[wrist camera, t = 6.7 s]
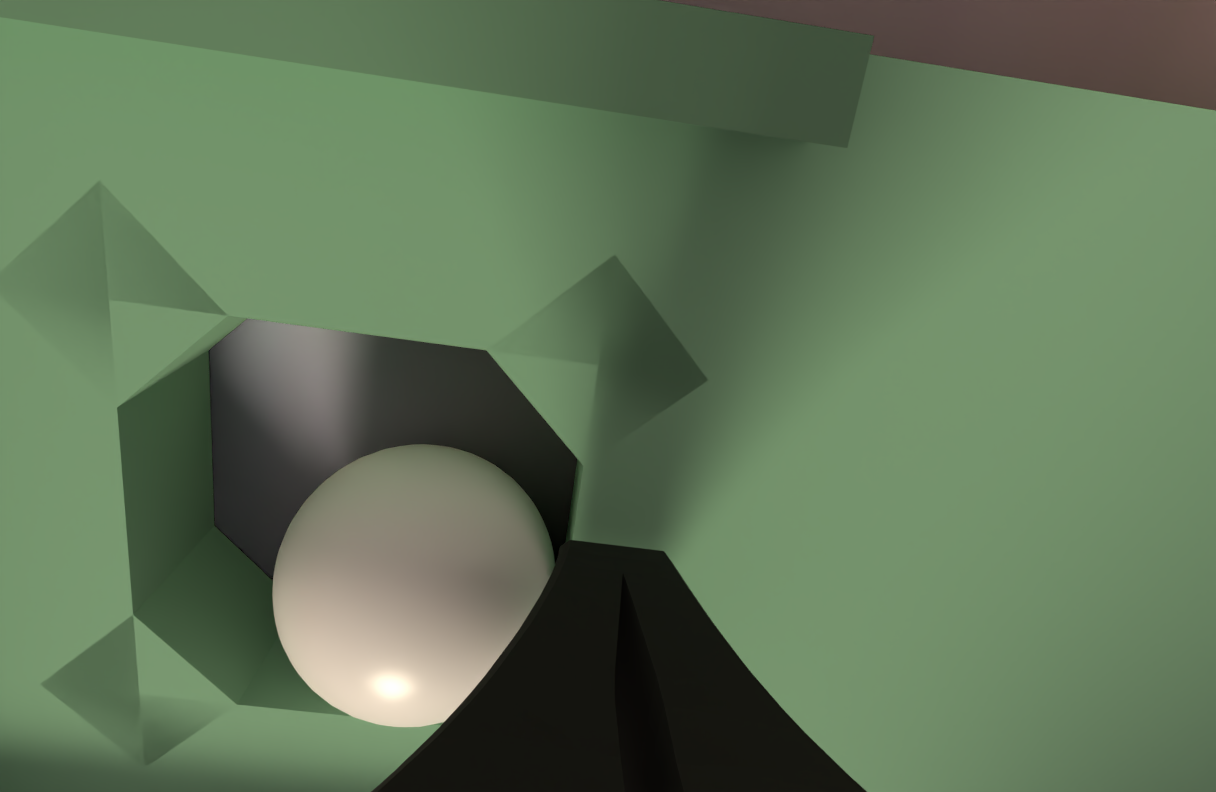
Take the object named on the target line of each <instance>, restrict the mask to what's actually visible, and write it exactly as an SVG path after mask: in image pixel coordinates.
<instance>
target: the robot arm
mask: <svg viewBox="0 0 1216 792" xmlns="http://www.w3.org/2000/svg"><path fill="white" fill-rule="evenodd" d="M371 792H867V791H866V790H865V789H864V788H862V787H861V786H860V785H859V784H858V783H857V782H856V781H855V780H854V779H852V778H851V777H850V776H849V775H848V774H847V773H846V772H845V771H844V770H843V769H842V768H841V767H840V766H839V765H838V764H837V763H836V762H835V761H834V760H833V759H832V758H831V757H830V756H829V755H828V754H827V753H826V752H825V751H824V750H823V749H821V748H820V747H819V746H818V745H817V744H816V743H815V742H814V741H813V740H812V739H811V738H810V737H809V736H808V735H807V734H806V733H805V732H804V731H803V730H802V729H801V728H800V727H799V726H798V724H797V723H796V722H795V721H794V720H793V719H792V718H791V717H790V716H789V715H788V714H787V713H786V712H785V711H784V710H783V708H782V707H781V706H780V705H779V704H778V703H777V702H776V700H775V699H774V698H773V697H772V696H771V695H770V693H769V692H768V691H767V690H766V689H765V688H764V687H763V685H762V684H761V683H760V682H759V681H758V680H757V679H756V677H755V676H754V675H753V674H752V673H751V671H750V670H749V669H748V668H747V666H746V665H745V664H744V663H743V661H742V660H741V659H740V658H739V656H738V655H737V654H736V652H735V651H734V650H733V648H732V647H731V646H730V644H729V643H728V642H727V640H726V639H725V638H724V636H723V635H722V634H721V632H720V631H719V630H718V628H717V627H716V626H715V624H714V623H713V622H712V620H711V619H710V617H709V616H708V615H707V613H706V612H705V610H704V609H703V607H702V606H701V604H700V603H699V602H698V600H697V599H696V597H695V596H694V594H693V593H692V591H691V590H690V588H689V587H688V585H687V584H686V582H685V581H684V579H683V578H682V576H681V575H680V573H679V572H678V570H677V569H676V567H675V566H674V564H673V563H672V561H671V560H670V559H669V557H668V556H667V554H666V553H665V552H664V551H660V550H651V549H643V548H635V547H626V546H618V545H610V544H601V543H593V542H584V541H576V540H569V541H567V542H566V543H564V544H563V545H561V546H560V549H559V555H558V558H557V561H556V564H555V567H554V569H553V571H552V573H551V576H550V578H549V580H548V582H547V584H546V585H545V587H544V589H543V591H542V593H541V595H540V597H539V598H538V600H537V602H536V603H535V605H534V606H533V608H532V610H531V611H530V613H529V615H528V616H527V618H526V619H525V621H524V623H523V624H522V626H521V627H520V629H519V630H518V632H517V633H516V635H515V636H514V638H513V639H512V640H511V642H510V643H509V644H508V646H507V647H506V648H505V650H504V651H503V652H502V654H501V655H500V656H499V658H498V659H497V660H496V662H495V663H494V664H493V666H492V667H491V668H490V670H489V671H488V672H487V674H486V675H485V676H484V677H483V679H482V680H481V681H480V682H479V683H478V685H477V686H476V687H475V688H474V689H473V691H472V692H471V693H470V694H469V695H468V696H467V698H466V699H465V700H464V701H463V702H462V703H461V704H460V706H459V707H458V708H457V709H456V710H455V711H454V712H453V713H452V714H451V715H450V716H449V717H448V718H447V720H446V721H445V722H444V723H443V724H442V725H441V726H440V727H439V728H438V729H437V730H436V731H435V732H434V733H433V734H432V735H431V736H430V737H429V738H428V739H427V740H426V741H425V742H424V743H423V744H422V745H421V746H420V747H419V748H418V749H417V750H416V751H415V752H414V753H413V754H412V755H411V756H409V757H408V758H407V759H406V760H405V761H404V762H403V763H402V764H401V765H400V766H399V767H398V768H397V769H396V770H395V771H394V772H393V773H392V774H391V775H389V776H388V777H387V778H386V779H385V780H384V781H383V782H382V783H381V784H379V785H378V786H377V787H376V788H375V789H374V790H373V791H371Z"/></svg>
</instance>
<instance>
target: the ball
mask: <svg viewBox="0 0 1216 792" xmlns="http://www.w3.org/2000/svg"><path fill="white" fill-rule="evenodd" d="M554 567H555V559H554V552H553V548H552V543H551V540H550V537H549V533H548V531H547V528H546V526H545V524H544V521H543V519H542V517H541V515H540V513H539V511H538V510H537V508H536V506H535V504H534V503H533V502H532V500H531V499H530V497H529V496H528V495H527V494H526V492H525V491H524V490H523V489H522V488H521V487H520V486H519V485H518V484H517V483H516V481H515V480H514V479H513V478H511V477H510V476H509V475H507V474H506V473H505V472H504V471H502V470H501V469H500V468H498V467H497V466H496V465H494V464H492V463H490V462H488V461H487V460H485V459H483V458H481V457H479V456H477V455H474V454H472V453H469V452H466V451H462V450H459V449H455V448H452V447H447V446H439V445H429V444H415V445H404V446H397V447H392V448H387V449H383V450H380V451H378V452H375V453H372V454H369V455H366V456H364V457H361V458H359V459H357V460H355V461H354V462H352V463H350V464H348V465H346V466H345V467H343V468H341V469H340V470H338V471H337V472H336V473H334V474H333V475H332V476H330V477H329V478H328V479H326V480H325V481H324V482H323V483H322V484H321V485H320V486H319V487H318V488H317V489H316V490H315V491H314V492H313V493H312V494H311V495H310V496H309V497H308V498H307V500H306V501H305V502H304V503H303V505H302V506H301V508H300V509H299V511H298V512H297V514H296V515H295V517H294V518H293V520H292V521H291V523H290V525H289V527H288V529H287V531H286V534H285V536H284V538H283V541H282V543H281V546H280V548H279V552H278V555H277V559H276V563H275V569H274V576H273V592H272V597H273V610H274V618H275V623H276V628H277V632H278V635H279V638H280V641H281V643H282V646H283V648H284V650H285V652H286V654H287V656H288V658H289V660H290V662H291V664H292V665H293V667H294V668H295V670H296V671H297V673H298V674H299V675H300V676H301V678H302V679H303V680H304V681H305V682H306V684H307V685H308V686H309V687H310V688H311V689H312V690H313V691H314V692H315V693H317V694H318V695H319V696H320V697H321V698H323V699H324V700H325V701H326V702H328V703H329V704H330V705H332V706H333V707H335V708H337V709H339V710H341V711H343V712H345V713H347V714H349V715H350V716H352V717H355V718H358V719H361V720H364V721H367V722H371V723H374V724H378V725H384V726H392V727H422V726H427V725H432V724H437V723H442V722H445V721H446V720H447V718H448V717H449V716H450V715H451V714H452V713H453V712H454V711H455V710H456V709H457V708H458V707H459V706H460V704H461V703H462V702H463V701H464V700H465V699H466V698H467V696H468V695H469V694H470V693H471V692H472V691H473V689H474V688H475V687H476V686H477V685H478V683H479V682H480V681H481V680H482V679H483V677H484V676H485V675H486V674H487V672H488V671H489V670H490V668H491V667H492V666H493V664H494V663H495V662H496V660H497V659H498V658H499V656H500V655H501V654H502V652H503V651H504V650H505V648H506V647H507V646H508V644H509V643H510V642H511V640H512V639H513V638H514V636H515V635H516V633H517V632H518V630H519V629H520V627H521V626H522V624H523V623H524V621H525V619H526V618H527V616H528V615H529V613H530V611H531V610H532V608H533V606H534V605H535V603H536V602H537V600H538V598H539V597H540V595H541V593H542V591H543V589H544V587H545V585H546V584H547V582H548V580H549V578H550V576H551V573H552V571H553V569H554Z"/></svg>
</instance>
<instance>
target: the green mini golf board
mask: <svg viewBox="0 0 1216 792" xmlns="http://www.w3.org/2000/svg"><path fill="white" fill-rule="evenodd" d="M873 39H874V36H873V35H867V34H861V33H855V32H849V31H843V30H837V29H831V28H825V27H819V26H812V25H806V24H800V23H794V22H788V21H782V20H776V19H770V18H764V17H758V16H752V15H746V14H739V13H733V12H727V11H721V10H715V9H709V8H703V7H697V6H691V5H685V4H679V3H673V2H667V1H660V0H0V792H371V791H373V790H374V789H375V788H376V787H377V786H378V785H379V784H381V783H382V782H383V781H384V780H385V779H386V778H387V777H388V776H389V775H391V774H392V773H393V772H394V771H395V770H396V769H397V768H398V767H399V766H400V765H401V764H402V763H403V762H404V761H405V760H406V759H407V758H408V757H409V756H411V755H412V754H413V753H414V752H415V751H416V750H417V749H418V748H419V747H420V746H421V745H422V744H423V743H424V742H425V741H426V740H427V739H428V738H429V737H430V736H431V735H432V734H433V733H434V732H435V731H436V730H437V729H438V728H439V727H440V726H441V725H442V724H443V723H444V722H442V723H437V724H432V725H427V726H422V727H392V726H384V725H378V724H374V723H371V722H367V721H364V720H361V719H358V718H355V717H352V716H350V715H349V714H347V713H345V712H343V711H341V710H339V709H337V708H335V707H333V706H332V705H330V704H329V703H328V702H326V701H325V700H324V699H323V698H321V697H320V696H319V695H318V694H317V693H315V692H314V691H313V690H312V689H311V688H310V687H309V686H308V685H307V684H306V682H305V681H304V680H303V679H302V678H301V676H300V675H299V674H298V673H297V671H296V670H295V668H294V667H293V665H292V664H291V662H290V660H289V658H288V656H287V654H286V652H285V650H284V648H283V646H282V643H281V641H280V638H279V635H278V632H277V628H276V623H275V618H274V610H273V597H272V592H273V581H272V580H271V579H270V578H269V577H268V576H267V575H266V574H265V573H264V572H263V571H262V570H261V569H260V568H259V567H257V566H256V565H255V564H254V563H253V562H252V561H251V560H250V559H249V558H248V557H247V556H246V555H245V554H244V553H243V552H242V551H241V550H239V549H238V548H237V547H236V546H235V545H234V544H233V543H232V542H231V541H230V540H229V539H228V538H227V537H226V536H225V535H224V534H223V533H221V532H220V531H219V530H218V529H217V528H216V527H215V526H214V499H213V469H212V438H211V408H210V378H209V350H210V349H211V348H212V347H213V346H214V345H216V344H217V343H218V342H219V341H221V340H222V339H223V338H224V337H225V336H227V335H228V334H229V333H230V332H231V331H233V330H234V329H235V328H236V327H238V326H239V325H240V324H241V323H242V322H244V321H245V320H246V319H247V318H248V319H256V320H263V321H271V322H278V323H286V324H293V325H301V326H308V327H316V328H323V329H331V330H338V331H345V332H353V333H360V334H368V335H375V336H383V337H390V338H398V339H405V340H413V341H420V342H428V343H435V344H443V345H450V346H458V347H465V348H473V349H480V350H487V352H488V353H489V354H490V355H491V356H492V358H493V359H494V360H495V361H496V362H497V363H498V365H499V366H500V367H501V368H502V369H503V371H504V372H505V373H506V374H507V375H508V377H509V378H510V379H511V380H512V381H513V383H514V384H515V385H516V386H517V387H518V389H519V390H520V391H521V392H522V393H523V394H524V396H525V397H526V398H527V399H528V400H529V402H530V403H531V404H532V405H533V406H534V408H535V409H536V410H537V411H538V412H539V414H540V415H541V416H542V417H543V418H544V419H545V421H546V422H547V423H548V424H549V425H550V427H551V428H552V429H553V430H554V431H555V433H556V434H557V435H558V436H559V437H560V439H561V440H562V441H563V442H564V443H565V445H566V446H567V447H568V448H569V449H570V450H571V452H572V453H573V454H574V455H575V456H576V458H577V465H576V472H575V479H574V486H573V492H572V499H571V506H570V513H569V520H568V527H567V534H566V541H565V543H566V542H567V541H569V540H576V541H584V542H593V543H601V544H610V545H618V546H626V547H635V548H643V549H651V550H660V551H664V552H665V553H666V554H667V556H668V557H669V559H670V560H671V561H672V563H673V564H674V566H675V567H676V569H677V570H678V572H679V573H680V575H681V576H682V578H683V579H684V581H685V582H686V584H687V585H688V587H689V588H690V590H691V591H692V593H693V594H694V596H695V597H696V599H697V600H698V602H699V603H700V604H701V606H702V607H703V609H704V610H705V612H706V613H707V615H708V616H709V617H710V619H711V620H712V622H713V623H714V624H715V626H716V627H717V628H718V630H719V631H720V632H721V634H722V635H723V636H724V638H725V639H726V640H727V642H728V643H729V644H730V646H731V647H732V648H733V650H734V651H735V652H736V654H737V655H738V656H739V658H740V659H741V660H742V661H743V663H744V664H745V665H746V666H747V668H748V669H749V670H750V671H751V673H752V674H753V675H754V676H755V677H756V679H757V680H758V681H759V682H760V683H761V684H762V685H763V687H764V688H765V689H766V690H767V691H768V692H769V693H770V695H771V696H772V697H773V698H774V699H775V700H776V702H777V703H778V704H779V705H780V706H781V707H782V708H783V710H784V711H785V712H786V713H787V714H788V715H789V716H790V717H791V718H792V719H793V720H794V721H795V722H796V723H797V724H798V726H799V727H800V728H801V729H802V730H803V731H804V732H805V733H806V734H807V735H808V736H809V737H810V738H811V739H812V740H813V741H814V742H815V743H816V744H817V745H818V746H819V747H820V748H821V749H823V750H824V751H825V752H826V753H827V754H828V755H829V756H830V757H831V758H832V759H833V760H834V761H835V762H836V763H837V764H838V765H839V766H840V767H841V768H842V769H843V770H844V771H845V772H846V773H847V774H848V775H849V776H850V777H851V778H852V779H854V780H855V781H856V782H857V783H858V784H859V785H860V786H861V787H862V788H864V789H865V790H866V791H867V792H1216V111H1215V110H1209V109H1203V108H1197V107H1191V106H1185V105H1178V104H1172V103H1166V102H1160V101H1154V100H1148V99H1142V98H1135V97H1129V96H1123V95H1117V94H1111V93H1105V92H1099V91H1092V90H1086V89H1080V88H1074V87H1068V86H1062V85H1056V84H1049V83H1043V82H1037V81H1031V80H1025V79H1019V78H1013V77H1006V76H1000V75H994V74H988V73H982V72H976V71H970V70H963V69H957V68H951V67H945V66H939V65H933V64H927V63H920V62H914V61H908V60H902V59H896V58H890V57H884V56H878V55H871V54H870V52H871V47H872V43H873Z"/></svg>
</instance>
